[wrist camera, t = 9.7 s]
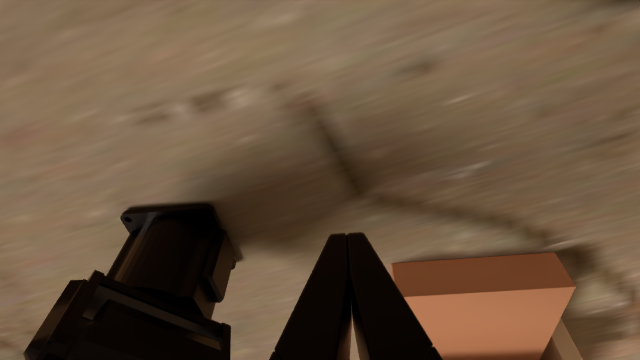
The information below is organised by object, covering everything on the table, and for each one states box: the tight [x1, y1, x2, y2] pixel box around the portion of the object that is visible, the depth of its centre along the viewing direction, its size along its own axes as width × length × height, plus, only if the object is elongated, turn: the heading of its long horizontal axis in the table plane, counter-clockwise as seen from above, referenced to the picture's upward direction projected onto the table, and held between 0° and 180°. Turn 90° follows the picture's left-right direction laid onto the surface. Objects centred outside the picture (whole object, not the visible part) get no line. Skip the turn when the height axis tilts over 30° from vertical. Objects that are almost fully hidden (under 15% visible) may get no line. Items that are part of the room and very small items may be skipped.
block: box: [392, 252, 576, 360], centre depth 33 cm, size 12×18×4 cm, turn 7°
